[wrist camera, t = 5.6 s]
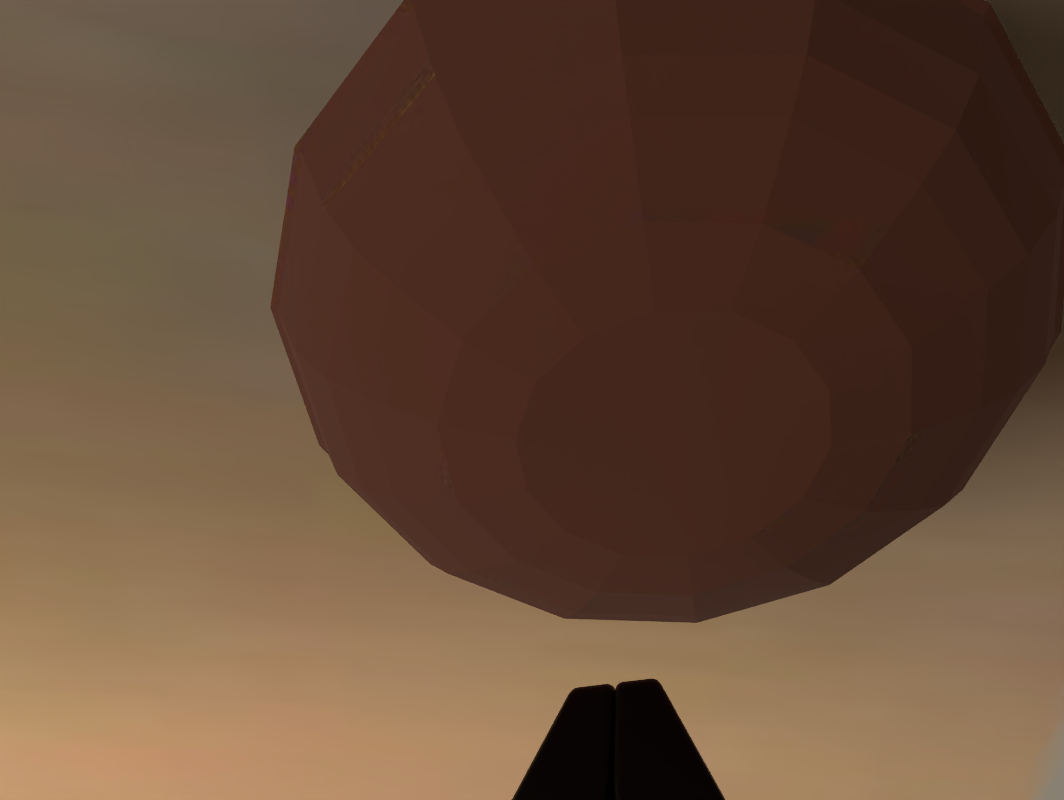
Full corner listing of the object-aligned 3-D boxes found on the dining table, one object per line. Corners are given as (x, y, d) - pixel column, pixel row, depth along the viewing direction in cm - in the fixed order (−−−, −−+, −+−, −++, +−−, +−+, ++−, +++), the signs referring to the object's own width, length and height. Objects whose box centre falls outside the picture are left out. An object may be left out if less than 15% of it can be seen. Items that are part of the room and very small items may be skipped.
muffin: (853, -251, 16) (1133, -337, 8) (991, 305, 21) (1258, 631, 13) (259, 47, 19) (-12, 222, 11) (498, 475, 24) (442, 831, 16)
